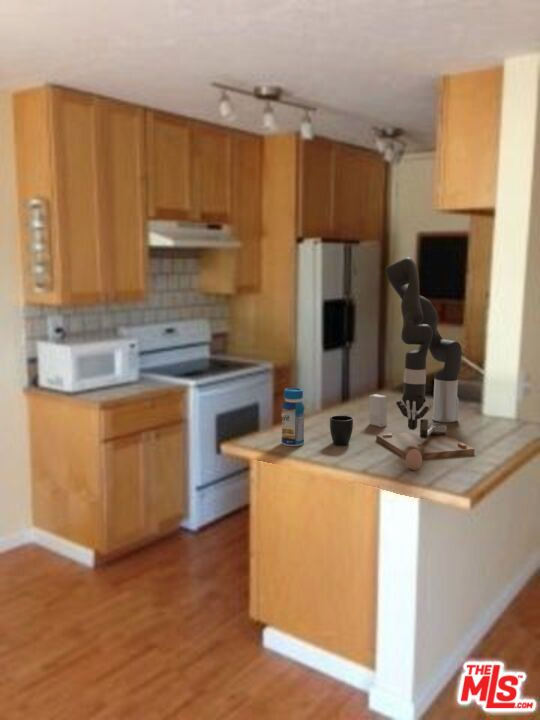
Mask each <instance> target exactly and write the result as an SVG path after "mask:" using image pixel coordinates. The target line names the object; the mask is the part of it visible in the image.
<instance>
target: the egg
mask: <svg viewBox="0 0 540 720" xmlns="http://www.w3.org/2000/svg"><path fill="white" fill-rule="evenodd" d="M405 463H406V464H405V465H406V466H407V468H408V469H409V470H412V471H416V470H419V469H420V468H421V466H422V463H423V459H422V456H421V454H420V452H419V451H418V450H416V449H412V450H410V451H409V452H408V454H407V455H406V459H405Z"/></svg>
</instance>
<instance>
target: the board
mask: <svg viewBox="0 0 540 720" xmlns="http://www.w3.org/2000/svg"><path fill="white" fill-rule="evenodd" d="M375 437H376V438H375V440H376V441H377V442H378V443H380V444H382V445H383V446H384V447H387V448H388V449H390V450H392V452H394V453H396V454H397V455H399V456H401V457H402V458H403V459H405V460H406V455H407V454H408V452H409V451H410V450H412V449H416V450H418V451H419V452H420V454H421V456H422V460H427V459H428V460H429V459H438V458H449V457H459V456H460V457H461V456H471V455H473V456H474V455H475V450H476V449H475V448H474V447H472V446H470V445H468V444H466V443H464V442H462V441H459V440H457V439H456V438H453V437H451V436H449V435H447V433H446V434H445V435H430V436H429V437H428V438H427V439H422V438H421V437H420V431H410V432H397V433H396V432H395V433H383V434H376V435H375Z"/></svg>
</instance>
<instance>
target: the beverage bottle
mask: <svg viewBox="0 0 540 720" xmlns="http://www.w3.org/2000/svg"><path fill="white" fill-rule="evenodd" d="M303 396H304V390H303V388H300V387H287V388H284V390H283V398H284V402H283V403H282V405H281V410H282V411H281V415H280V416H281V444H282V445H284V446H286V447H300V446H303V445H304V443H305V418H306V413H305V403H304V402H303V401H302V400H303V398H304V397H303Z"/></svg>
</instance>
